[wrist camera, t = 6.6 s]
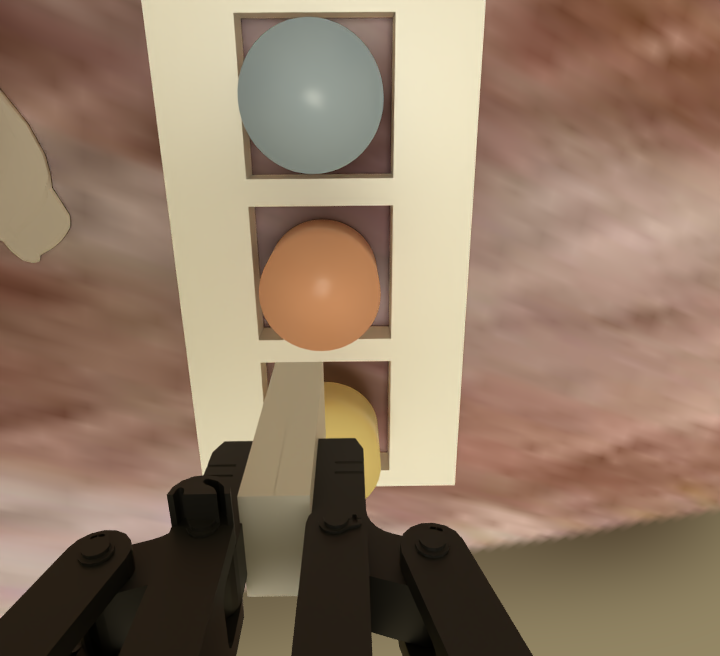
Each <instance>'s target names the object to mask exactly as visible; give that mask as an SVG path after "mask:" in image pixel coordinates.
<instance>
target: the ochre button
mask: <svg viewBox="0 0 720 656" xmlns="http://www.w3.org/2000/svg"><path fill="white" fill-rule="evenodd" d="M324 400H325V429H326V438H356V440H357V441H358V442H359V444H360V445H361V446H362V447H363V451H364V475H365V499H366V498H367V497H368V496H369V495H370V494H371V492H372V491H373V490H374V488H375V486H376V485H377V482H378V480H379V477H380V472H381V460H380V448H379V436H378V424H377V418H376V414H375V411H374V409H373V407H372V405H371V404H370V403H369V401H368V400H367V399H366V398H365V397H364V396H363V395H362V394H361V393H359V392H358V391H357V390H355V389H353V388H351V387H349V386H346V385H343V384H340V383H335V382H324Z"/></svg>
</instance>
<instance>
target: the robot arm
mask: <svg viewBox="0 0 720 656" xmlns="http://www.w3.org/2000/svg"><path fill="white" fill-rule="evenodd" d="M167 499H168V505H169V511H170V518H171V524H172V528H171V530H170V532H169V533H168V534H166V535H164V536H162V537H159V538H156V539H153V540H149V541H145V542H141V543H137V544H133V545H132V544H131V540H130V539H129V537H128V536H127V535H126V534H125V533H122V532H119V531H115V530H104V531H100V532H96V533H91V534H89V535H87V536H85V537H83V538H81V539H79V540H77V541H76V542H75V543H74V544H72V545H71V546H70V547H69V548H68V549H67V550H66V551H65V552H64V553H63V554H62V555H61V556H60V557H59V558H58V559H57V560H56V561H55V562H54V563H53V564H52V565H51V566H50V567H49V568H48V569H47V570H46V572H45V573H44V574H43V575H42V576H41V577H40V578H39V579H38V580H37V581H36V582H35V583H34V584H33V585H32V586H31V587H30V588H29V589H28V590H27V591H26V592H25V593H24V594H23V596H22V597H21V598H20V599H19V600H18V601H17V602H16V603H15V604H14V605H13V606H12V607H11V608H10V609H9V610H8V611H7V612H6V613H5V614H4V615H3V616H2V617H1V618H0V656H236V654H237V649H238V644H239V639H240V634H241V629H242V624H243V619H244V609H243V599H242V597H243V593H244V588H245V583H246V586H247V595H248V597H258V596H298V599H297V608H296V617H295V627H294V636H293V645H292V655H291V656H372V638H371V632H373V633H376V634H380V635H383V636H386V637H390V638H394V639H397V640H398V641H399V647H400V650H401V653H402V655H403V656H533V655H532V653H531V652H530V650H529V648H528V647H527V645H526V643H525V642H524V640H523V639H522V637H521V635H520V634H519V632H518V630H517V629H516V627H515V625H514V624H513V622H512V620H511V619H510V617H509V615H508V614H507V612H506V610H505V609H504V607H503V605H502V604H501V602H500V600H499V599H498V597H497V595H496V594H495V592H494V590H493V589H492V587H491V585H490V584H489V582H488V580H487V579H486V577H485V575H484V574H483V572H482V570H481V569H480V567H479V566H478V564H477V562H476V560H475V559H474V557H473V555H472V554H471V552H470V550H469V549H468V547H467V545H466V544H465V542H464V540H463V539H462V538H461V537H460V536H459V535H458V533H457V532H456V531H454V530H452V529H450V528H449V527H447V526H445V525H440V524H436V523H421V524H418V525H415V526H413V527H410V528H409V529H408V530H407V531H406V532H405V533H403V536H400V535H396V534H392V533H389V532H386V531H383V530H382V529H380V528H378V527H376V526H375V525H374V524H373V523H372V522H371V521H370V519H369V518H368V516H367V512H366V500H365V475H364V451H363V447H362V446H361V445H360V444H359V442H358V441H357V440H356V438H326V429H325V400H324V370H323V362H275V365H274V369H273V372H272V376H271V379H270V383H269V386H268V390H267V393H266V397H265V401H264V404H263V408H262V411H261V415H260V418H259V422H258V425H257V429H256V432H255V436H254V439H253V441H224V442H223V443H222V444H221V445H220V446H219V447H218V448H217V449H216V450H214V451H213V452H212V455H211V457H210V460H209V462H208V465H207V467H206V470H205V472H204V475H203V476H195V477H191V478H189V479H186V480H183V481H181V482H180V483H178V484H177V485H175V486H174V487H172V489H171V490H170V491H169V493H168V494H167Z"/></svg>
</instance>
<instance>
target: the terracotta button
mask: <svg viewBox="0 0 720 656" xmlns="http://www.w3.org/2000/svg"><path fill="white" fill-rule="evenodd" d="M380 296H381V294H380V283H379V277H378V271H377V265H376V260H375V257H374V254H373V251H372V249H371V247H370V246H369V244H368V243H367V241H366V240H365V239H364V238H363V237H362V235H360V234H359V233H358V232H357V231H356V230H354V229H353V228H351V227H350V226H348V225H346V224H343V223H341V222H337V221H333V220H325V219H319V220H312V221H307V222H304V223H301V224H299V225H297V226H295V227H294V228H292V229H291V230H289V231H288V232H287V233H286V234H285V235H284V236H283V237H282V238H281V239H280V240H279V242H278V243H277V245H276V247H275V248H274V250H273V252H272V254H271V256H270V258H269V260H268V262H267V264H266V266H265V268H264V270H263V272H262V275H261V279H260V284H259V300H260V305H261V309H262V312H263V314H264V316H265V319H266V320H267V322H268V323H269V325H270V326H271V328H272V329H273V330H274V331H275V332H276V333H277V334H278V335H279V336H280V337H282V338H283V339H284V340H286V341H287V342H289V343H291V344H293V345H295V346H297V347H300V348H303V349H307V350H312V351H330V350H335V349H339V348H342V347H345V346H347V345H349V344H351V343H353V342H354V341H356V340H357V339H358V338H360V337H361V336H362V335H363V334H364V333H365V332H366V331H367V330H368V329H369V327H370V326H371V325H372V323H373V321H374V319H375V317H376V315H377V312H378V309H379V305H380Z"/></svg>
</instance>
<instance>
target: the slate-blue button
mask: <svg viewBox="0 0 720 656" xmlns="http://www.w3.org/2000/svg"><path fill="white" fill-rule="evenodd" d="M237 91H238V106H239V111H240V115H241V119H242V122H243V124H244V127H245V129H246V131H247V133H248V135H249V136H250V138H251V140H252V141H253V142H254V144H255V145H256V147H257V148H258V149H259V150H260V151H261V152H262V153H263V154H264V155H265V156H267V157H268V158H269V159H270V160H272V161H273V162H275V163H276V164H278V165H280V166H282V167H284V168H286V169H288V170H291V171H294V172H299V173H304V174H321V173H327V172H331V171H334V170H337V169H340V168H342V167H344V166H345V165H347V164H349V163H350V162H352V161H353V160H355V159H356V158H357V157H358V156H359V155H360V154H361V153H362V152H363V151H364V150H365V149H366V148H367V146H368V145H369V144H370V142H371V141H372V139H373V137H374V136H375V133H376V131H377V129H378V127H379V123H380V120H381V116H382V111H383V101H384V95H383V85H382V79H381V75H380V72H379V69H378V66H377V64H376V62H375V60H374V58H373V56H372V54H371V53H370V51H369V49H368V48H367V47H366V46H365V44H364V43H363V42H362V41H361V40H360V39H359V38H358V37H357V36H356V35H355V34H354V33H352V32H351V31H350V30H348V29H347V28H345V27H344V26H342V25H340V24H338V23H336V22H333V21H330V20H328V19H323V18H319V17H298V18H293V19H289V20H286V21H284V22H281V23H279V24H277V25H275V26H273V27H272V28H270V29H269V30H268V31H266V32H265V33H264V34H262V35H261V36H260V38H259V39H258V40H257V41H256V42H255V43H254V44H253V46H252V47H251V49H250V50H249V52H248V54H247V56H246V57H245V59H244V62H243V65H242V67H241V71H240V75H239V79H238V89H237Z"/></svg>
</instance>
